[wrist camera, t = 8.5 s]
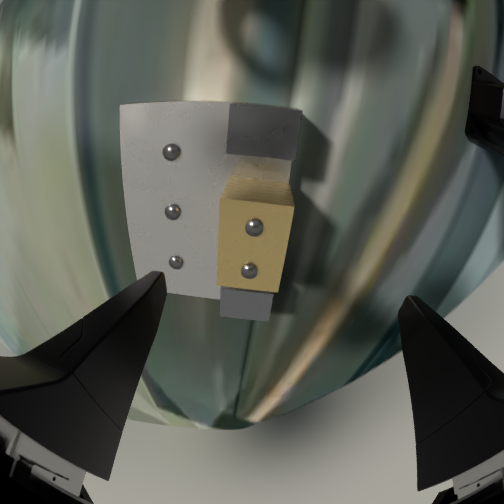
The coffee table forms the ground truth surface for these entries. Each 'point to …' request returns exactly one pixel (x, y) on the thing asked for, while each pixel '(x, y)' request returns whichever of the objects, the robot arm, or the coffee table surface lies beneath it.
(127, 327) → the robot arm
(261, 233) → the block
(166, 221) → the steel hinge plate
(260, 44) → the coffee table surface
